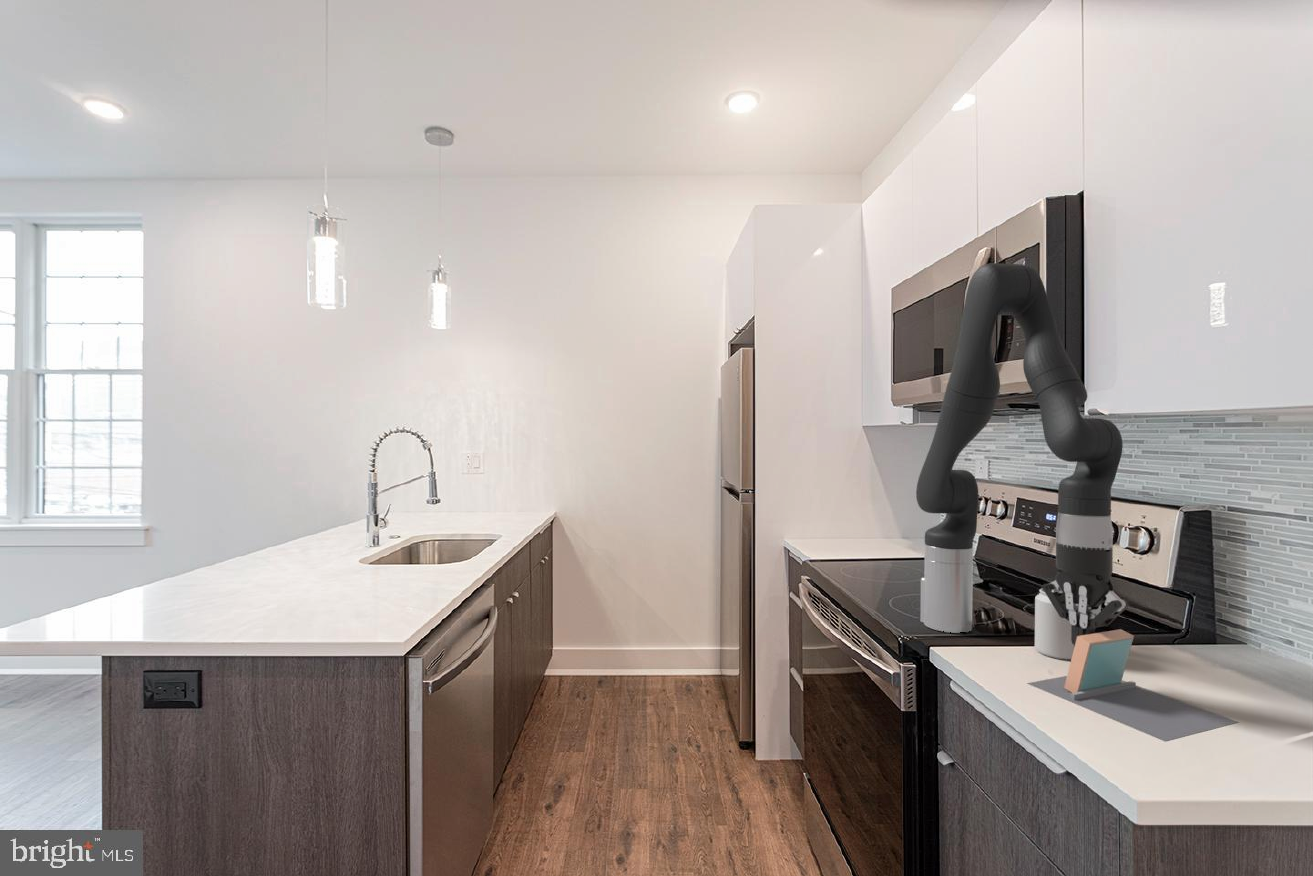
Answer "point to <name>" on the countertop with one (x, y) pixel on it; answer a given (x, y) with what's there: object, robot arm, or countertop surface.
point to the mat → (1139, 708)
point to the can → (1051, 630)
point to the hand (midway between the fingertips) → (1083, 649)
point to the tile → (1098, 660)
